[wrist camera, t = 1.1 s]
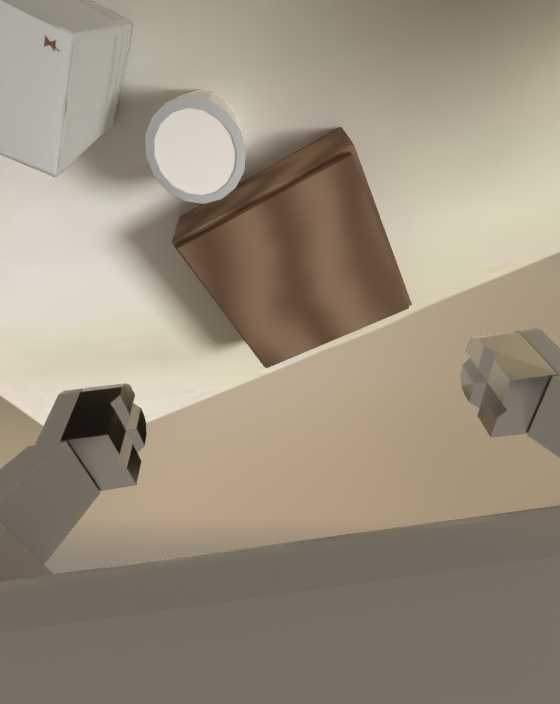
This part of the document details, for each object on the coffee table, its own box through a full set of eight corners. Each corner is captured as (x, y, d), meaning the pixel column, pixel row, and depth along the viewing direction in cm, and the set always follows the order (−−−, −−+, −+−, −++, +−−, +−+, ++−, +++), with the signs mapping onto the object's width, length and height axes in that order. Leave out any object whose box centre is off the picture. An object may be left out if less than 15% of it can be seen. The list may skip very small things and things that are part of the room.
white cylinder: (170, 176, 36) (157, 207, 31) (151, 82, 31) (131, 99, 26) (250, 171, 36) (250, 201, 31) (242, 77, 32) (241, 93, 26)
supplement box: (19, -41, 27) (-109, -64, 17) (136, 23, 29) (80, 34, 20) (11, 81, 31) (-96, 119, 21) (113, 128, 33) (59, 181, 24)
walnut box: (341, 126, 34) (355, 146, 30) (397, 277, 44) (414, 309, 39) (179, 217, 38) (170, 247, 34) (263, 336, 48) (264, 372, 43)
